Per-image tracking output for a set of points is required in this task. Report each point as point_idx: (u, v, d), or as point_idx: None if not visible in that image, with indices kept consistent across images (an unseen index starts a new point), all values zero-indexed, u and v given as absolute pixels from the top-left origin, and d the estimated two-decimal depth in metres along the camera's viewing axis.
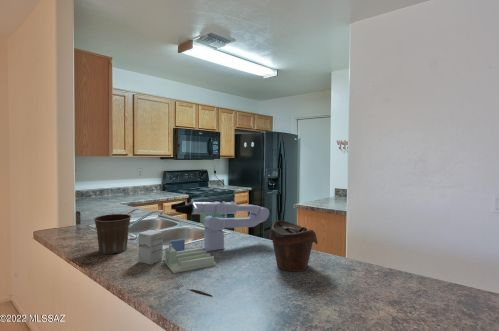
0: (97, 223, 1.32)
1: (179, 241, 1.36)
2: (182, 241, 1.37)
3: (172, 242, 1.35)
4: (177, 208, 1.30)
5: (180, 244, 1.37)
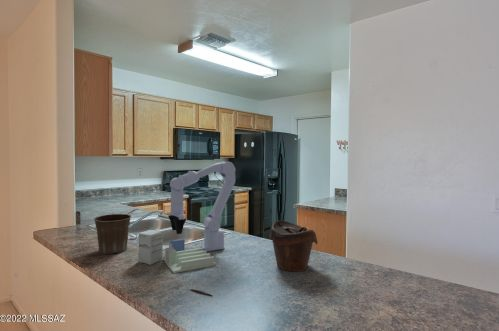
0: (97, 223, 1.32)
1: (179, 241, 1.36)
2: (182, 241, 1.37)
3: (172, 242, 1.35)
4: (178, 232, 1.32)
5: (180, 244, 1.37)
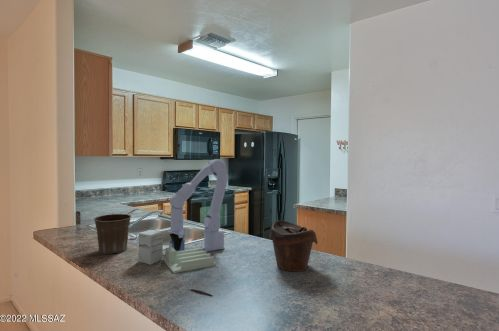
0: (97, 223, 1.32)
1: None
2: (182, 241, 1.37)
3: (172, 242, 1.35)
4: (176, 249, 1.35)
5: None
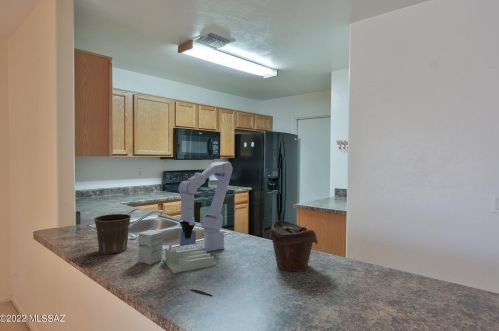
0: (97, 223, 1.32)
1: None
2: (193, 232, 1.30)
3: (183, 233, 1.28)
4: (186, 237, 1.28)
5: (191, 235, 1.30)
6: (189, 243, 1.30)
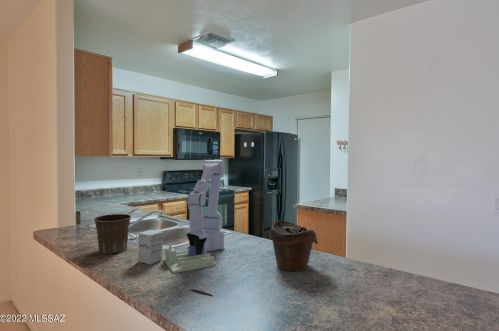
0: (97, 223, 1.32)
1: None
2: None
3: (191, 248, 1.23)
4: (197, 253, 1.21)
5: None
6: None
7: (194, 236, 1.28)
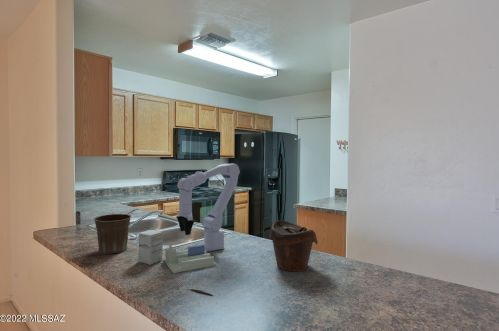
0: (97, 223, 1.32)
1: (199, 247, 1.25)
2: (202, 247, 1.26)
3: (191, 248, 1.23)
4: (186, 233, 1.31)
5: (200, 250, 1.25)
6: None
7: (184, 219, 1.38)
